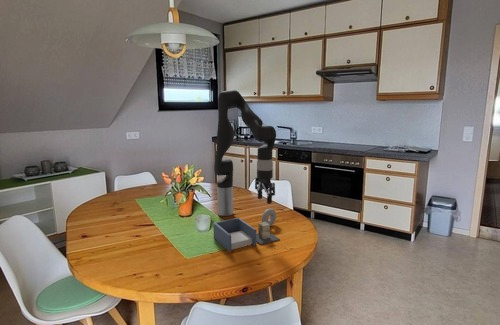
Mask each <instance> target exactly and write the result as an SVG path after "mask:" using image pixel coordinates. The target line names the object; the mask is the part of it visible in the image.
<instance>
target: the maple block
mask: <svg viewBox="0 0 500 325" xmlns="http://www.w3.org/2000/svg"><path fill="white" fill-rule="evenodd" d="M270 228H271V226H270V224H268V223H267V222H262V221H261V222H258V233H259V236H258V237H260V238H261V239H267V238H270V233H271V232H270V231H271V230H270Z"/></svg>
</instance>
